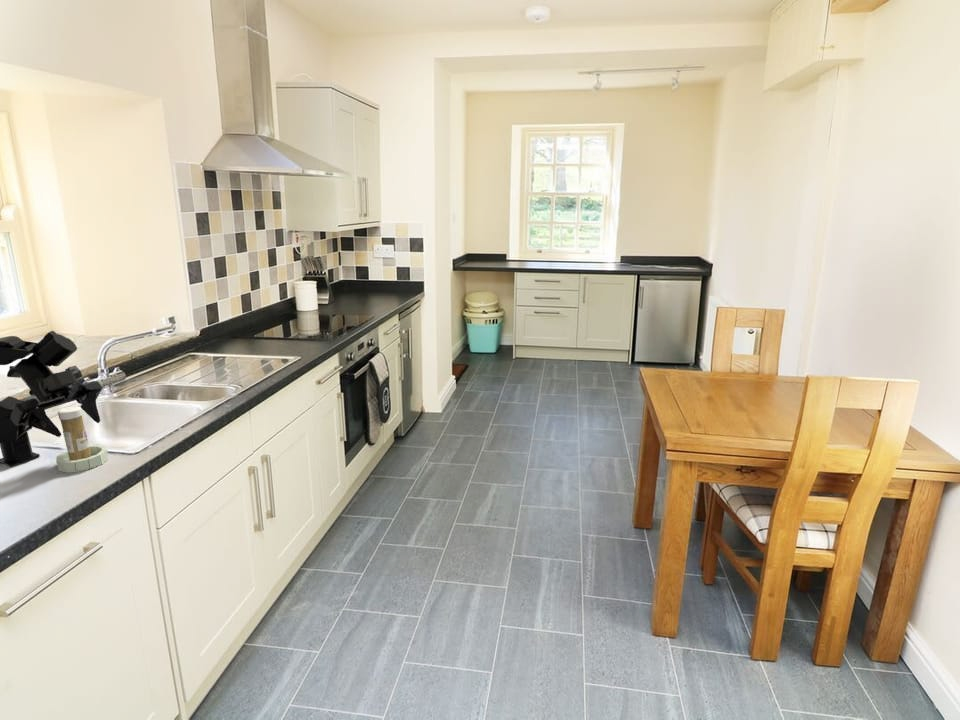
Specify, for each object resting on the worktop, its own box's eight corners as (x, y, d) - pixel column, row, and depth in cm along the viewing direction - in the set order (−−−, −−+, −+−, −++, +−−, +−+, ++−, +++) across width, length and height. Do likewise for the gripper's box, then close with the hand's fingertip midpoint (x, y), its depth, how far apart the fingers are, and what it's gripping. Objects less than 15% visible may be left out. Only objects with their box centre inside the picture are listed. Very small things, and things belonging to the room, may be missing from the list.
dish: (50, 467, 137) (47, 457, 137) (93, 451, 146) (91, 442, 145) (73, 475, 133) (71, 465, 132) (117, 458, 141) (115, 449, 141)
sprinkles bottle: (93, 462, 138) (81, 409, 135) (70, 467, 136) (57, 413, 132) (92, 455, 142) (80, 404, 139) (69, 460, 140) (57, 408, 136)
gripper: (5, 369, 126) (48, 422, 125) (90, 349, 142) (129, 396, 141) (-8, 399, 131) (34, 451, 130) (75, 376, 147) (113, 422, 146)
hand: (80, 428), depth 137 cm, fingers open, 9 cm apart
